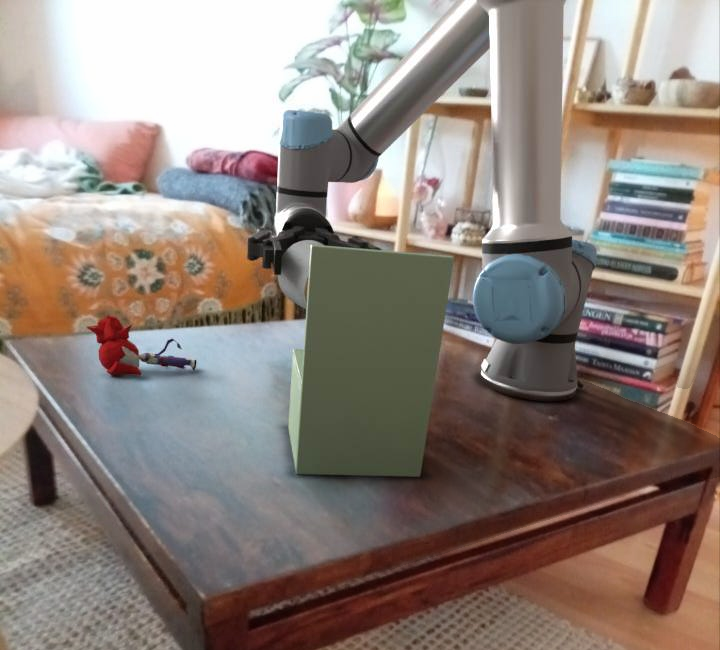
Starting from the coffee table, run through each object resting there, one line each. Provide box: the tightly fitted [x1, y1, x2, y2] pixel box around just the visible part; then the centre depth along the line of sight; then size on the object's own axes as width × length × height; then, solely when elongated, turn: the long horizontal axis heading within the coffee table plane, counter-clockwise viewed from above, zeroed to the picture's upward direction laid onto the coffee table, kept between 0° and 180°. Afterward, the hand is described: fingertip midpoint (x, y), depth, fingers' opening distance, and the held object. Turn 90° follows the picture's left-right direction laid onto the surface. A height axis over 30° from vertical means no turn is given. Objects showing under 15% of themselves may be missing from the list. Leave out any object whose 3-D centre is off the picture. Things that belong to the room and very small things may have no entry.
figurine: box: [86, 314, 197, 376], centre depth 100 cm, size 6×8×15 cm
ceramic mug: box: [277, 240, 324, 310], centre depth 83 cm, size 11×8×8 cm
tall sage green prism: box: [287, 245, 455, 478], centre depth 78 cm, size 14×13×24 cm
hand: (321, 265), depth 79 cm, fingers closed on ceramic mug, 9 cm apart
